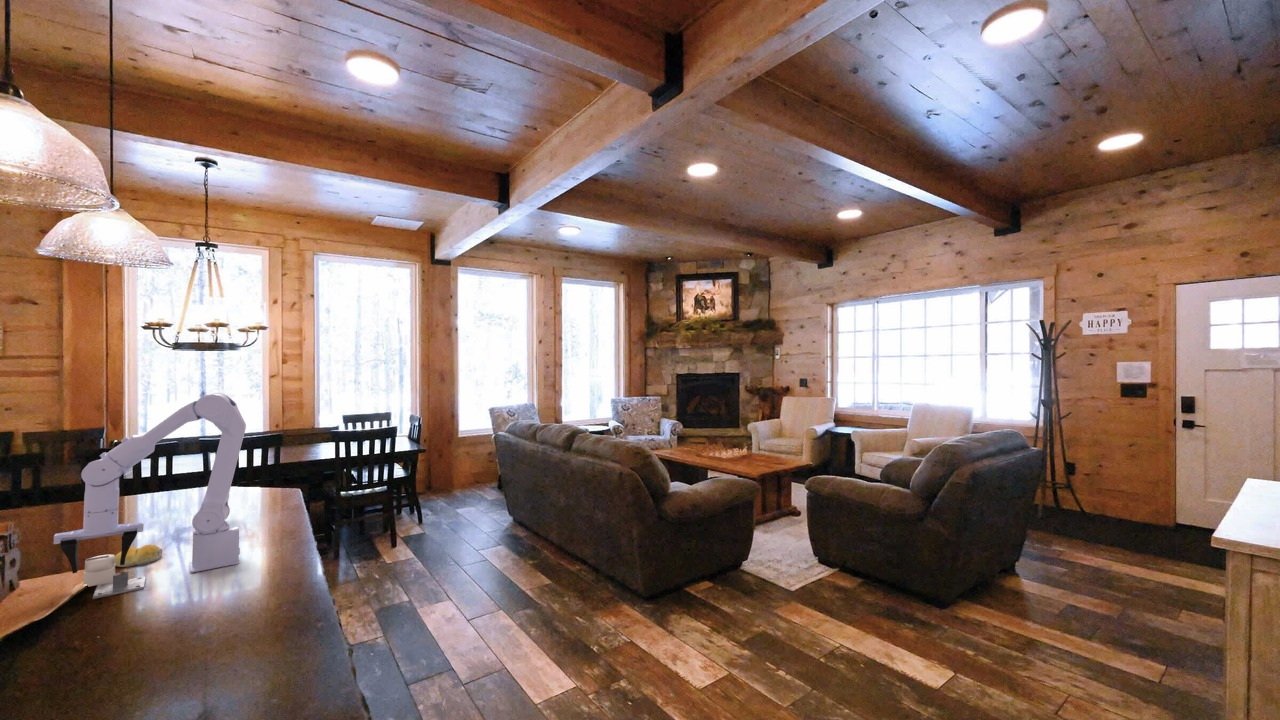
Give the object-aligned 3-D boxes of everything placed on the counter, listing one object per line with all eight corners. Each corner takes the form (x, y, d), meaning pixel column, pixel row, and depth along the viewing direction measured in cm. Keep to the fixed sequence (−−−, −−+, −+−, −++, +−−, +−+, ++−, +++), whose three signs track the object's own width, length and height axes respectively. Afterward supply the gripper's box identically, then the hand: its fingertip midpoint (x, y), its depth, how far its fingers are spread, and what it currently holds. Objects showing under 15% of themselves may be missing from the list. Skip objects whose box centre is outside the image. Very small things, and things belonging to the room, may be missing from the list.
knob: (115, 576, 124) (115, 551, 124) (113, 582, 120) (113, 557, 120) (86, 581, 121) (86, 556, 121) (83, 588, 117) (83, 562, 117)
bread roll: (119, 560, 135) (120, 545, 135) (164, 554, 139) (165, 539, 139) (107, 570, 128) (107, 554, 128) (155, 564, 132) (155, 548, 132)
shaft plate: (145, 578, 123) (146, 564, 123) (143, 588, 117) (144, 574, 117) (97, 587, 118) (97, 573, 118) (92, 599, 112) (93, 583, 112)
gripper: (145, 501, 129) (143, 556, 128) (58, 511, 119) (56, 570, 119) (143, 507, 123) (141, 564, 123) (52, 518, 114) (50, 579, 113)
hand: (99, 567), depth 121 cm, fingers open, 7 cm apart
